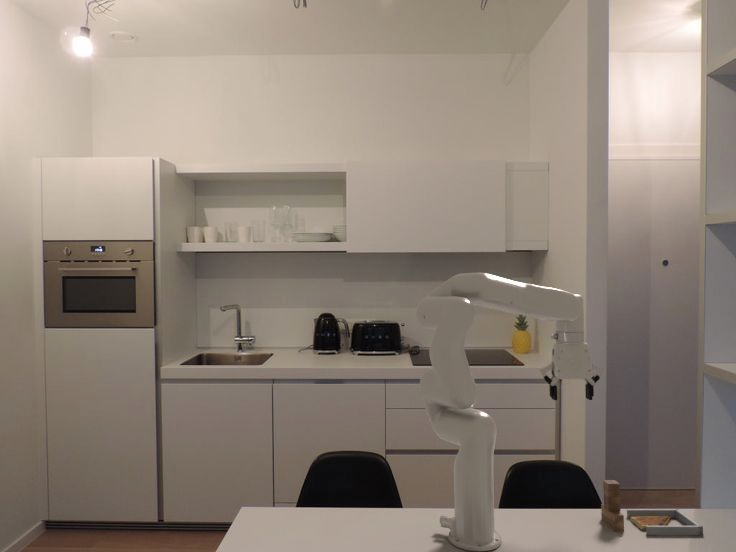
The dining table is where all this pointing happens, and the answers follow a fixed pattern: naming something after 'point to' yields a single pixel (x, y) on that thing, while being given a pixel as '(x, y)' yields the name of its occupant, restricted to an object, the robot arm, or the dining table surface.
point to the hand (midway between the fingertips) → (571, 399)
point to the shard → (650, 521)
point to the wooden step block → (612, 506)
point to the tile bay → (689, 529)
